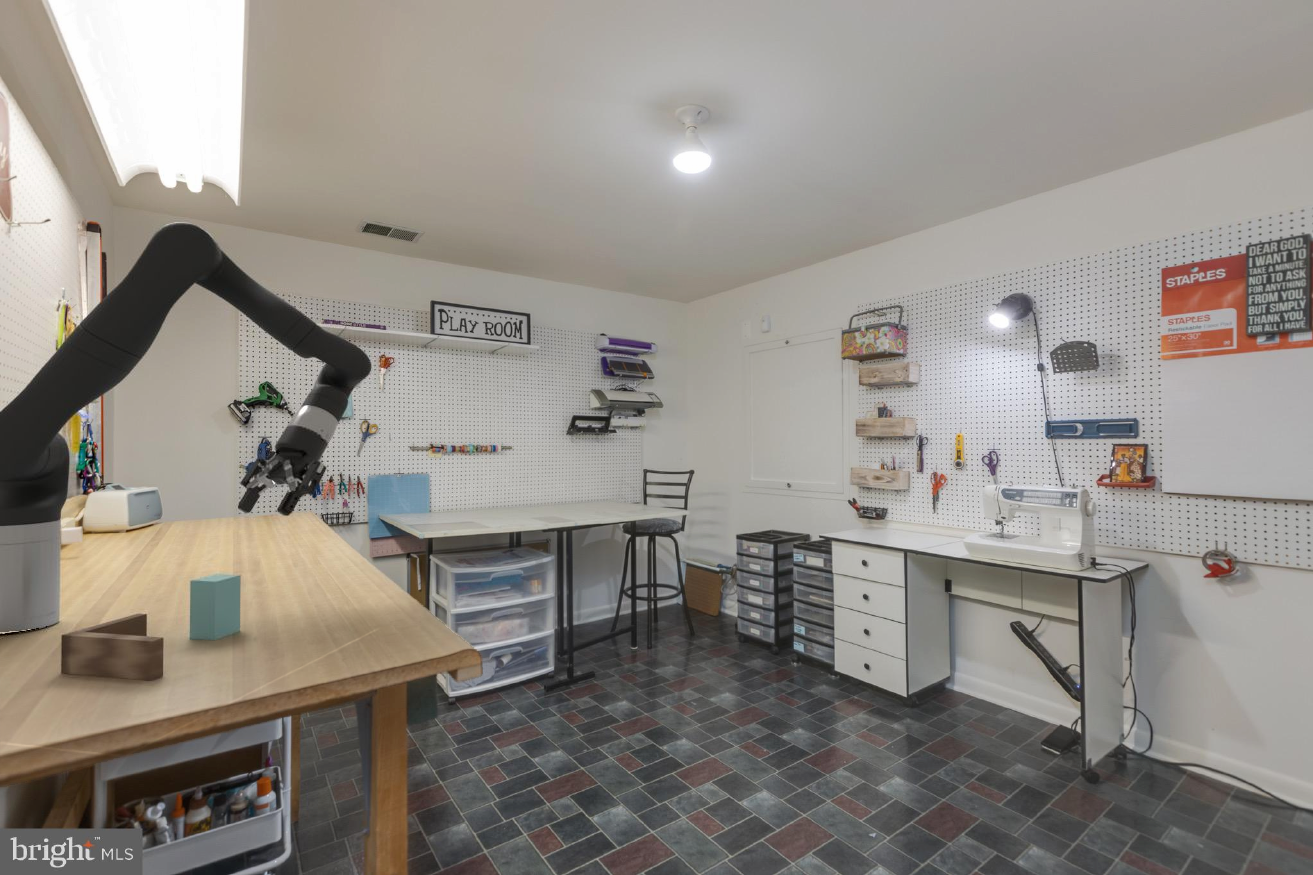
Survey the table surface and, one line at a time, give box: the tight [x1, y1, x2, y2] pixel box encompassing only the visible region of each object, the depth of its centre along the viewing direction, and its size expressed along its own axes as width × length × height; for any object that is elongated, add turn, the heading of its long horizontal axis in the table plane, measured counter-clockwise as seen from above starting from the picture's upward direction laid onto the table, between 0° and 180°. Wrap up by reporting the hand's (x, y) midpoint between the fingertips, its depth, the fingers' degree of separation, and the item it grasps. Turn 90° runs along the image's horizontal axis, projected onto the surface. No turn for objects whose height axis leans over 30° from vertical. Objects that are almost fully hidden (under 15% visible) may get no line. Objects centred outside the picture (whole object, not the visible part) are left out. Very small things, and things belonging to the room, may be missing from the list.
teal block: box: [189, 573, 242, 641], centre depth 93 cm, size 4×4×9 cm
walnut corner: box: [60, 613, 165, 681], centre depth 81 cm, size 14×10×5 cm
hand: (262, 512), depth 102 cm, fingers open, 8 cm apart
